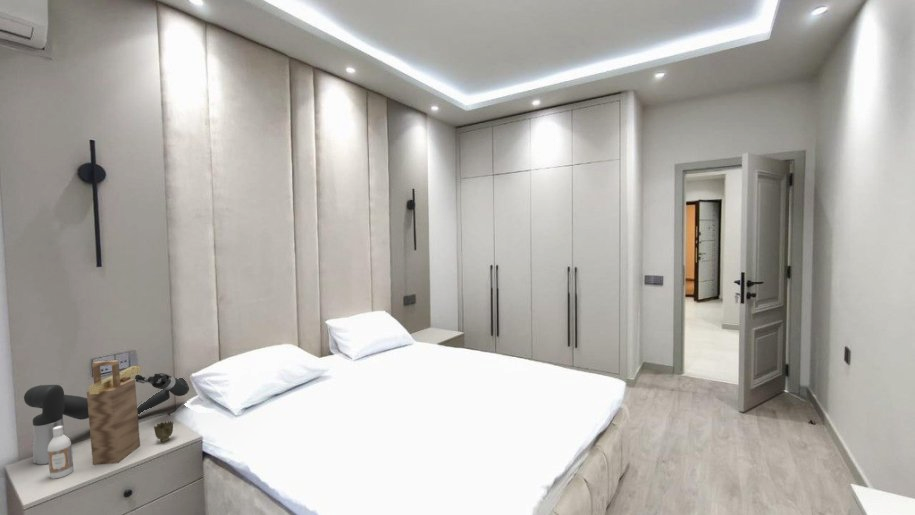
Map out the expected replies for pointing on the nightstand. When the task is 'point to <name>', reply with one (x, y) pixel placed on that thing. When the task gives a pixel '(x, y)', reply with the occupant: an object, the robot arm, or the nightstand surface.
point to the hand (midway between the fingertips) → (145, 376)
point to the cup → (164, 430)
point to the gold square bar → (108, 381)
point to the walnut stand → (113, 417)
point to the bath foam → (60, 454)
